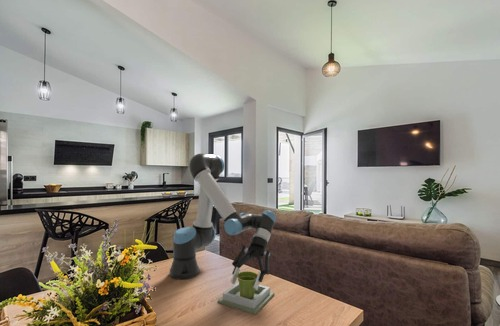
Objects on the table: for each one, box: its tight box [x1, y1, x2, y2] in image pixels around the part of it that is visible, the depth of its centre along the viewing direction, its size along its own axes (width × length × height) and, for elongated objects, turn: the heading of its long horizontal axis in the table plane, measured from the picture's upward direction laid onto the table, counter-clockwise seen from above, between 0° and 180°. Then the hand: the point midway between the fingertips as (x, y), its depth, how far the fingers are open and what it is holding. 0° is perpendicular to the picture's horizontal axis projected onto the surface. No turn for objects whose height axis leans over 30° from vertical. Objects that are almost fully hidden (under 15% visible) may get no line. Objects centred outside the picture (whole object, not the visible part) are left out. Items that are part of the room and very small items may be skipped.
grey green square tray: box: [217, 281, 275, 315], centre depth 112 cm, size 18×18×4 cm
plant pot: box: [237, 271, 258, 299], centre depth 112 cm, size 9×9×9 cm
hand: (243, 285), depth 109 cm, fingers open, 11 cm apart
